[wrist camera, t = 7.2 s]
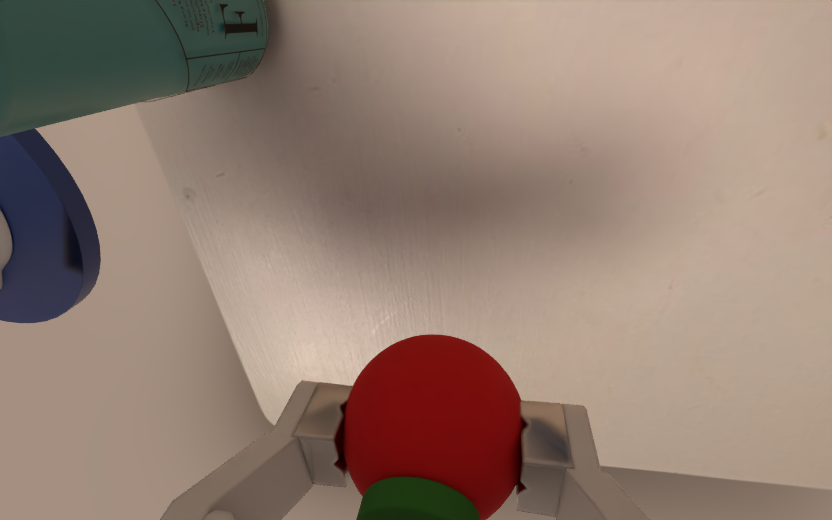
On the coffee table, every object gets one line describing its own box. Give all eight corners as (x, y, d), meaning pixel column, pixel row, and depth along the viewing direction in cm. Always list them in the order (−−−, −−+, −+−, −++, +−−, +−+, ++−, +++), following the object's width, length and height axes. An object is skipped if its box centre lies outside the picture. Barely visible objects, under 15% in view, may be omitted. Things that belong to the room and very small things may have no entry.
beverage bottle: (308, 42, 23) (-233, 121, 6) (226, 101, 25) (-322, 278, 8) (231, -89, 20) (-1145, -640, 3) (149, -9, 23) (-875, -81, 6)
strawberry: (378, 405, 13) (326, 577, 9) (360, 295, 11) (281, 458, 7) (517, 419, 12) (527, 614, 8) (528, 303, 10) (548, 493, 6)
